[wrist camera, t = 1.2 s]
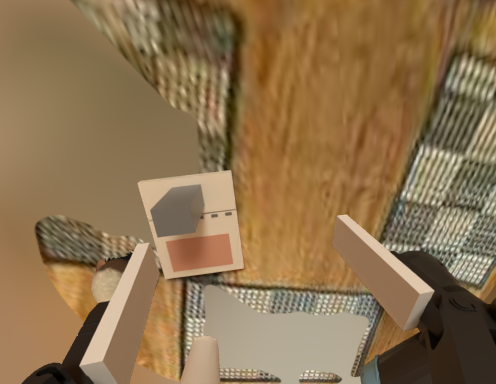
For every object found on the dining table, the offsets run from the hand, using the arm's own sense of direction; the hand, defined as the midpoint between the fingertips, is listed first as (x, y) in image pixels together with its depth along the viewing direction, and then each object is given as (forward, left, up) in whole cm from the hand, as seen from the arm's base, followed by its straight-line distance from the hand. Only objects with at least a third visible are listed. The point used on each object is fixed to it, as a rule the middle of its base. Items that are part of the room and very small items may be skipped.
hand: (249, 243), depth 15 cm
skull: (-19, +25, -24) cm, 40 cm away
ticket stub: (-3, +9, -24) cm, 26 cm away
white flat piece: (-13, +9, -24) cm, 29 cm away
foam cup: (-42, +13, -24) cm, 50 cm away
